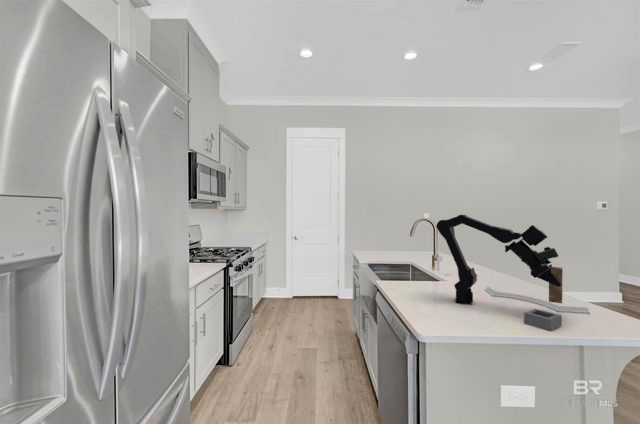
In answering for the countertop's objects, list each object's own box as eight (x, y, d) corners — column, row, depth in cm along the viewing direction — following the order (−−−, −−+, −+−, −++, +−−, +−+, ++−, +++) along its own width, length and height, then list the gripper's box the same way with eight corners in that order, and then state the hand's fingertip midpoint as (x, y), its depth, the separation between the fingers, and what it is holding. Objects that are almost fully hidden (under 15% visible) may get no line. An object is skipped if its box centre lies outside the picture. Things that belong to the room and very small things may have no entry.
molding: (593, 314, 122) (593, 307, 122) (582, 319, 115) (582, 312, 115) (488, 290, 158) (488, 285, 158) (476, 293, 151) (476, 287, 151)
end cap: (524, 323, 110) (524, 312, 110) (535, 319, 114) (535, 308, 114) (550, 331, 103) (550, 319, 103) (561, 326, 107) (561, 315, 107)
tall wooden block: (548, 301, 114) (549, 268, 114) (549, 299, 117) (549, 266, 117) (562, 303, 111) (562, 269, 111) (562, 301, 115) (562, 267, 114)
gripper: (541, 242, 110) (581, 276, 103) (544, 238, 124) (579, 268, 117) (516, 261, 115) (552, 294, 108) (521, 255, 129) (553, 285, 122)
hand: (560, 284), depth 113 cm, fingers closed on tall wooden block, 4 cm apart
